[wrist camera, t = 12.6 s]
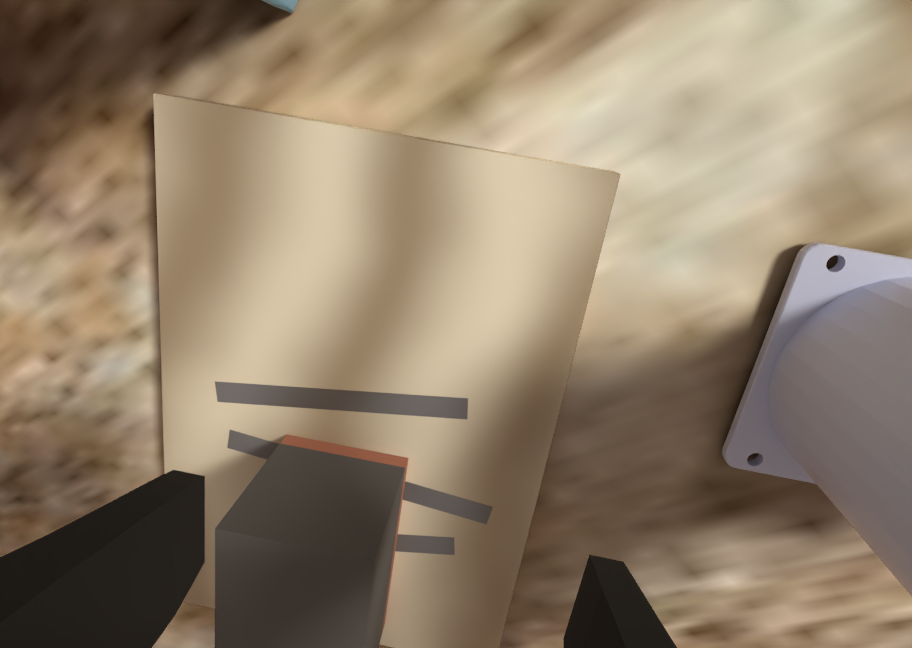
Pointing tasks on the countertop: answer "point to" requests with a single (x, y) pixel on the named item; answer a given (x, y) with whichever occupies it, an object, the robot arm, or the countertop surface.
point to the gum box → (283, 4)
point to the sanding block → (309, 549)
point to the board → (374, 331)
